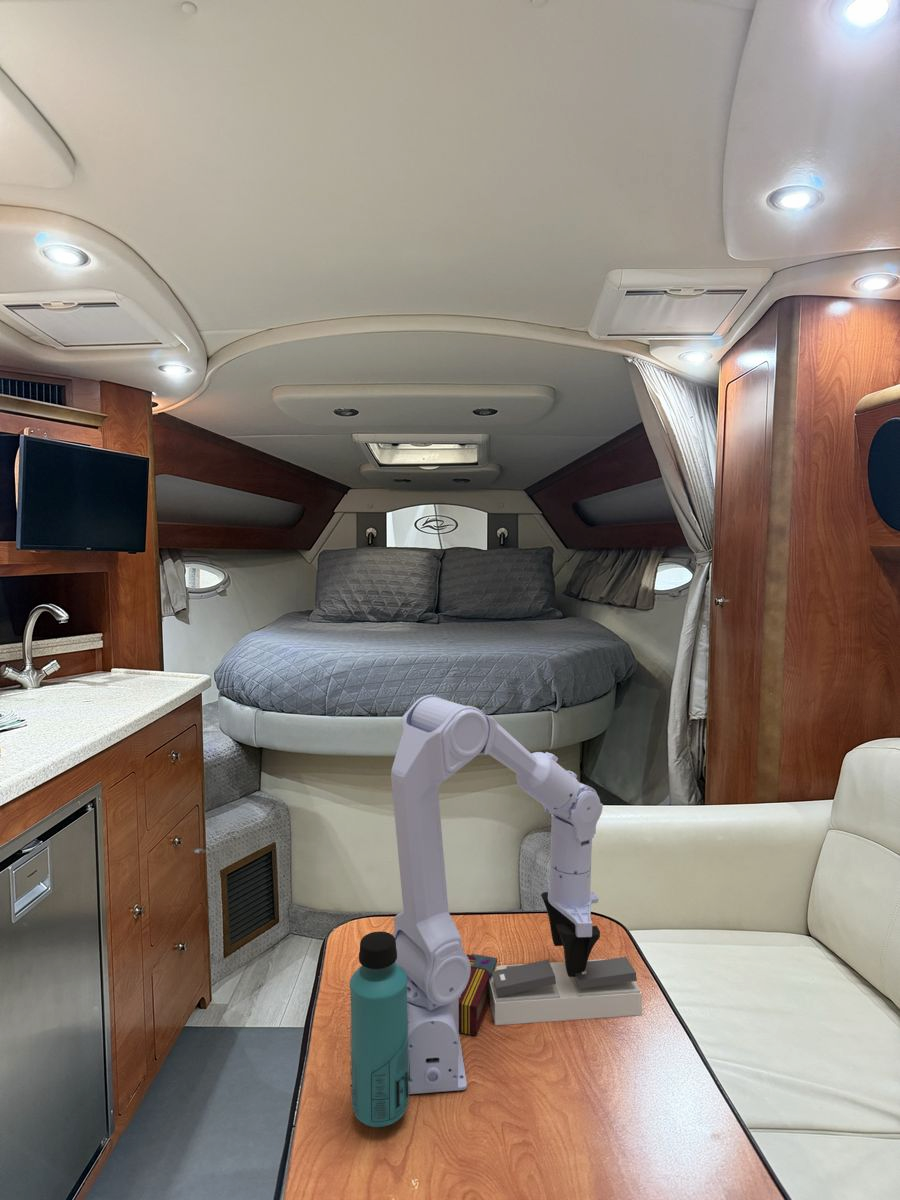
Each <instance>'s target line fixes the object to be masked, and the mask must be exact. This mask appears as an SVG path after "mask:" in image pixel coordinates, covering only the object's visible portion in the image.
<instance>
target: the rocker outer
mask: <svg viewBox="0 0 900 1200" xmlns="http://www.w3.org/2000/svg"><path fill="white" fill-rule="evenodd" d="M605 959H606V960H601V959H597V960H598V961H591V962H587V965H586V968H585V971H584V972H582V973H576V974H575V977H574V979H575V981H576V984H577V986H578V988H579V989H583V988H590V987H597V986H604V985H611V984H619V983H626V982H633V981H635V982H637V971H636V970H635V968H634V966H633V965H632V964H631V961H629V959H628V957H627V956H622V957H614V958H605Z"/></svg>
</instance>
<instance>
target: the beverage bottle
mask: <svg viewBox="0 0 900 1200" xmlns="http://www.w3.org/2000/svg"><path fill="white" fill-rule="evenodd" d="M396 959H397V949H396V940H395V937H394V936H393V934H391V933H389V932H387V931H373V932H370V933H367V934H366V935H364V936H363V937H362V938H361V939H360V943H359V952H358V962H359V963H360V965H361V966H359V967H358V968H357V969H356V970H355V971H354V973H353V974H352V975H351V977H350V980H349V989H350V990H349V991H350V1039H349V1041H350V1046H349V1049H350V1051H349V1053H350V1061H349V1069H350V1080H351V1084H350V1091H351V1092H350V1093H351V1094H350V1100H351V1105H350V1107H351V1108H352V1111H353V1112H354V1114H355V1115H354V1116H355V1117H356V1119H358V1121H359V1122H360V1123H362V1124H364V1125H365V1126H369V1127H371V1128H373V1127H374V1128H381V1127H386V1126H387V1127H388V1126H390V1125H393V1124H394V1123H396V1122H397V1121H399V1120H400V1119H401V1118H402V1117H403V1116H404V1114H405V1113H406V1112H407V1109H408V1105H409V1104H410V1094H409V1092H410V1088H409V1083H410V1082H408V1080H410V1060H408V1058H409V1057H410V1056H409V1057H408V1049H409V1048H408V1043H409V1042H408V1027H409V1026H408V1023H409V1022H408V1012H407V975H406V973H405V971H404V970H403V969H402V968H401V967H400V966H399V965H397V964H396V963H394V962H395V961H396ZM408 1010H409V1009H408ZM408 1061H409V1078H408Z"/></svg>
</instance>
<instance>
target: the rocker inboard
mask: <svg viewBox="0 0 900 1200" xmlns="http://www.w3.org/2000/svg"><path fill="white" fill-rule="evenodd" d="M550 963H551V962H550V960H549V959H548V958H547V959H542V960H539V961H534V962H530V963H525V964H524V963H523V964H524V965H520V966H515V967H511V968H506V969H501V970H497V971H492V976H493V981H494V985H495V989H496V993H497V996H498V997H499V996H504V995H508V994H513V993H517V992H522V991H526V990H531V989H535V988H540V987H544V986H549V985H553V984H556V980H555V974H554V972H553V970H552V967H551V965H550Z"/></svg>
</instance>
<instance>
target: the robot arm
mask: <svg viewBox="0 0 900 1200" xmlns="http://www.w3.org/2000/svg"><path fill="white" fill-rule="evenodd" d="M401 729H402V730H401V731H402V734H401V737H400V738H401V739H400V741H399V744H398V747H397V752H396V754H395V756H394V761H393V763H392V767H391V770H390V779H391V780H390V782H391V790H392V801H393V803H392V804H393V811H394V812H393V813H394V814H393V815H394V822H395V823H394V825H395V834H396V845H397V856H398V865H399V868H398V869H399V875H400V876H399V877H400V878H399V879H400V887H401V889H400V890H401V897H402V898H401V899H402V910H401V911H399V912H398V913H397V914H396V915H395V916H394V917H393V923H394V924H393V926H394V928H393V934H392V935H393V936H394V937H395V940H396V949H397V959H396V961H395V962H394V963H396V964H397V965H399V966H400V967H401V968H402V969H403V970H404V971H405V973H406V975H407V1012H408V1022H409V1023H408V1026H409V1027H408V1042H409V1043H408V1048H409V1049H408V1057H409V1056H410V1057H409V1058H408V1060H410V1080H408V1082H410V1083H409V1088H410V1092H409V1095H417V1094H428V1093H430V1094H431V1093H441V1092H453V1091H464V1090H466V1089H467V1088H468V1083H467V1077H466V1070H465V1063H464V1058H463V1057H464V1056H463V1051H462V1045H461V1039H460V1032H459V998H460V997H461V994H462V992H463V991H464V989H465V988H466V986H467V984H468V981H469V978H470V973H471V965H470V961H469V958H468V957H467V955H468V954H467V955H466V952H465V951H464V948H463V942H462V936H461V933H460V931H459V930H458V927H457V925H456V924H455V922H454V920H453V918H452V916H451V914H450V911H449V904H448V902H449V901H448V892H447V891H448V889H447V888H448V887H447V879H446V877H447V876H446V868H445V867H446V865H445V854H444V853H445V852H444V846H443V843H444V842H443V832H442V819H441V808H440V798H439V796H440V795H439V787H440V785H441V784H442V783H443V782H445V781H447V780H448V779H449V778H451V776H453V775H455V774H456V772H458V771H459V770H460V769H462V768H464V767H465V765H467V764H468V763H470V762H471V761H472V760H473V759H474V758H475V757H477V756H478V755H479V754H481V755H483V756H487V755H489V756H491V757H492V758H493V759H495V760H496V761H498V762H499V763H501V764H502V765H503V766H505V767H507V769H509V770H510V771H512V772H513V773H515V780H516V781H515V782H516V785H517V786H518V787H519V788H520V790H522V791H524V792H525V793H526V794H528V796H530V797H532V799H534V800H535V801H537V802H538V803H539V804H541V805H542V807H543V809H544V812H545V813H547V814H550V815H551V821H550V822H551V824H550V826H551V827H550V861H549V862H550V863H549V864H550V865H549V887H548V891H544V892H542V893H541V895H540V896H541V898H542V901H543V903H544V905H545V909H546V912H547V916H548V922H549V927H550V933H551V940H552V943H553V946H554V947H562V948H563V955H564V962H565V966H566V971H567V974H568V976H569V977H575V974H576V973H582V972H584V971H585V968H586V965H587V961H588V960H589V957H590V955H591V952H592V950H593V948H594V946H595V944H596V943H597V942H598V941H599V939H600V937H601V931H600V929H599V927H598V926H597V925H593V921H592V919H591V915H592V914H591V913H592V905H593V904H598V903H599V896H598V895H597V893H595V892H594V891H591V885H592V884H591V882H592V880H591V879H592V851H593V850H592V849H593V848H592V847H593V844H592V843H593V839H594V838H595V835H596V833H597V832H596V830H597V823H598V821H599V820H600V817H601V816H602V812H603V807H604V804H603V803H601V800H600V799H601V798H600V796H599V795H598V793H597V791H596V789H595V788H593V787H592V786H589V785H587V784H584V783H582V782H579V780H578V779H577V777H578V775H577V774H576V773H575V772H573V771H571V770H566V769H565V768H564V767H562V766H561V765H560V764H559V763H557V761H558V760H559V758H558V757H557V755H555V754H553V753H550V752H548V751H545V753H544V752H542V751H535V752H532V753H531V752H530V751H529V750H528V749H526V748H525V746H523V744H521V743H520V742H519V741H518V740H517V739H516V738H515V737H513V736H512V735H511V734H510V733H509V732H508V731H507V730H506V729H504V728H503V727H502V726H501V725H500V724H499V723H498V722H497V721H496V719H495V718H493V717H492V716H490V715H487V714H485V713H484V712H483V711H481V709H479V708H477V707H476V706H471V705H465V704H460V703H458V702H454V701H450V700H447V699H443V698H442V697H440V696H438V695H435V694H428V695H424V696H422V697H419V698H418V699H417V700H416V701H415V702H414V703H413V704H412V705H411V706H410V707H409V709H408V710H407V711H406V712H405V713H404V714H403V716H402V717H401ZM408 1009H409V1010H408ZM408 1078H409V1061H408Z"/></svg>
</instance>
